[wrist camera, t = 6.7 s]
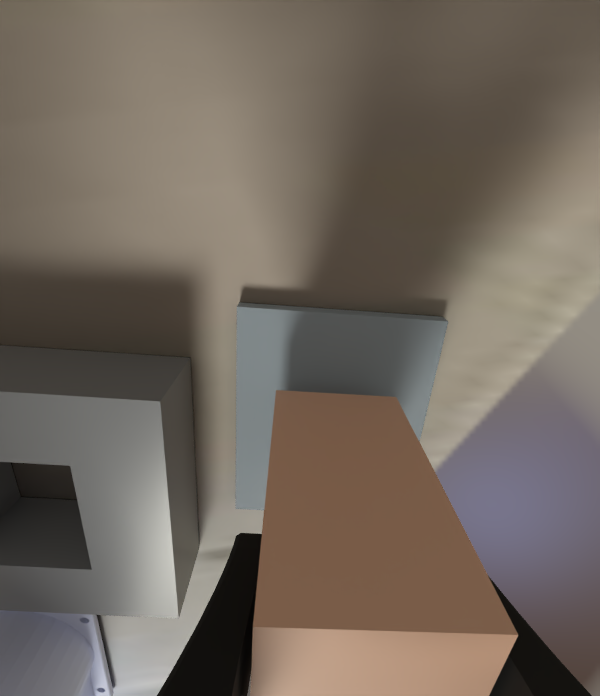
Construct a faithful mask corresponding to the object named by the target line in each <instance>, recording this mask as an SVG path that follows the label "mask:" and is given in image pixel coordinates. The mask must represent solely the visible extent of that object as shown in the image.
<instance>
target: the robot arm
mask: <svg viewBox="0 0 600 696" xmlns="http://www.w3.org/2000/svg"><path fill="white" fill-rule="evenodd" d="M261 539H262V534H251V533H240V534H239V535H237V536H236V539H235V542H234V545H233V548H232V551H231V553H230V556H229V559H228V561H227V564H226V566H225V568H224V571H223V573H222V575H221V577H220V580H219V582H218V584H217V586H216V589H215V591H214V593H213V595H212V597H211V599H210V601H209V603H208V605H207V607H206V609H205V611H204V613H203V615H202V617H201V619H200V621H199V623H198V625H197V627H196V628H195V630H194V632H193V634H192V636H191V637H190V639H189V641H188V643H187V645H186V646H185V648H184V650H183V652H182V654H181V655H180V657H179V659H178V661H177V663H176V664H175V666H174V668H173V670H172V671H171V673H170V675H169V677H168V678H167V680H166V682H165V683H164V685H163V687H162V688H161V690H160V692H159V693H158V695H157V696H247V693H248V687H249V681H250V675H251V665H252V638H253V621H254V610H255V600H256V590H257V580H258V569H259V559H260V549H261ZM488 577H489V576H488ZM489 579H490V578H489ZM490 581H491V583H492V585H493V587H494V589H495V590H496V592H497V594H498V596H499V598H500V600H501V602H502V604H503V606H504V608H505V610H506V612H507V614H508V616H509V618H510V620H511V622H512V624H513V626H514V628H515V629H516V631H517V633H518V637H517V639H516V641H515V643H514V645H513V647H512V649H511V651H510V653H509V655H508V658H507V660H506V662H505V664H504V666H503V668H502V670H501V672H500V674H499V676H498V678H497V680H496V682H495V684H494V686H493V689H492V691H491V693H490V695H489V696H591V695H590V693H589V692H588V691H587V690H586V689H585V688H584V687H583V686H582V685H581V684H580V682H579V681H577V679H576V678H575V677H574V676H573V675H572V674H571V673H570V671H569V670H568V669H567V668H566V667H565V666H564V665H563V664H562V663H561V662H560V660H559V659H558V658H557V657H556V656H555V655H554V654H553V652H552V651H551V650H550V649H549V648H548V647H547V646H546V644H545V643H544V642H543V641H542V640H541V639H540V637H539V636H538V635H537V634H536V633H535V632H534V630H533V629H532V628H531V627H530V626H529V625H528V623H527V622H526V621H525V620H524V619H523V618H522V616H521V615H520V614H519V613H518V611H517V610H516V609H515V608H514V607H513V606H512V604H511V603H510V602H509V601H508V599H507V598H506V597H505V596H504V595H503V593H502V592H501V591H500V590H499V589H498V587H497V586H496V585H495V584H494V582H493V581H492V580H491V579H490ZM113 693H114V692H113V688H112V683H111V678H110V674H109V669H108V665H107V660H106V656H105V651H104V646H103V642H102V637H101V633H100V628H99V623H98V619H97V615H92V614H70V613H48V612H27V611H5V610H0V696H113Z"/></svg>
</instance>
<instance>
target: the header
mask: <svg viewBox="0 0 600 696" xmlns="http://www.w3.org/2000/svg"><path fill="white" fill-rule="evenodd" d="M11 462H13V463H30V464H48V465H65V466H70V468H71V473H72V477H73V482H74V487H75V492H76V496H77V500H64V499H46V498H27V497H21V496H20V493H19V489H18V486H17V483H16V479H15V476H14V472H13V469H12V465H11ZM198 550H199V531H198V510H197V488H196V467H195V445H194V424H193V402H192V380H191V359H190V358H187V357H172V356H157V355H142V354H126V353H111V352H96V351H81V350H66V349H51V348H35V347H20V346H5V345H0V610H5V611H27V612H48V613H70V614H92V615H113V616H135V617H157V618H179V616H180V612H181V609H182V605H183V602H184V599H185V595H186V592H187V588H188V585H189V581H190V578H191V574H192V571H193V567H194V564H195V561H196V557H197V554H198Z"/></svg>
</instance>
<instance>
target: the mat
mask: <svg viewBox="0 0 600 696" xmlns="http://www.w3.org/2000/svg"><path fill="white" fill-rule="evenodd" d="M447 325H448V321H447V320H446V319H445V318H443V317H439V316H425V315H411V314H397V313H382V312H368V311H354V310H340V309H326V308H311V307H297V306H283V305H269V304H254V303H240V302H239V304H238V306H237V379H236V509H251V510H264V508H265V498H266V487H267V477H268V467H269V457H270V446H271V436H272V426H273V416H274V405H275V395H276V390H283V391H301V392H319V393H336V394H354V395H371V396H389V397H396V398H397V399H398V401H399V403H400V405H401V407H402V409H403V411H404V413H405V415H406V417H407V419H408V421H409V423H410V425H411V427H412V429H413V431H414V433H415V435H416V437H417V438H418V440H419V441H420V437H421V433H422V429H423V425H424V421H425V416H426V412H427V408H428V404H429V400H430V396H431V391H432V387H433V383H434V379H435V375H436V370H437V366H438V362H439V358H440V354H441V350H442V345H443V341H444V337H445V333H446V329H447Z"/></svg>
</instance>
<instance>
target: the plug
mask: <svg viewBox="0 0 600 696" xmlns="http://www.w3.org/2000/svg"><path fill="white" fill-rule="evenodd" d="M517 637H518V633H517V631H516V629H515V628H514V626H513V624H512V622H511V620H510V618H509V616H508V614H507V612H506V610H505V608H504V606H503V604H502V602H501V600H500V598H499V596H498V594H497V592H496V590H495V589H494V587H493V585H492V583H491V581H490V579H489V577H488V575H487V573H486V571H485V569H484V567H483V565H482V563H481V561H480V559H479V558H478V556H477V554H476V552H475V550H474V548H473V546H472V544H471V542H470V540H469V538H468V536H467V534H466V532H465V530H464V528H463V526H462V524H461V522H460V521H459V518H458V516H457V515H456V513H455V511H454V509H453V507H452V505H451V503H450V501H449V499H448V497H447V495H446V493H445V491H444V489H443V487H442V485H441V483H440V481H439V479H438V477H437V475H436V474H435V472H434V470H433V468H432V466H431V464H430V462H429V460H428V458H427V456H426V454H425V452H424V450H423V448H422V446H421V444H420V442H419V440H418V438H417V437H416V435H415V433H414V431H413V429H412V427H411V425H410V423H409V421H408V419H407V417H406V415H405V413H404V411H403V409H402V407H401V405H400V403H399V401H398V399H397V398H396V397H389V396H371V395H354V394H336V393H319V392H301V391H283V390H276V395H275V405H274V416H273V426H272V436H271V446H270V457H269V467H268V477H267V487H266V498H265V508H264V518H263V528H262V539H261V549H260V559H259V569H258V580H257V590H256V600H255V610H254V621H253V638H252V665H251V693H250V695H251V696H489V695H490V693H491V691H492V689H493V686H494V684H495V682H496V680H497V678H498V676H499V674H500V672H501V670H502V668H503V666H504V664H505V662H506V660H507V658H508V655H509V653H510V651H511V649H512V647H513V645H514V643H515V641H516V639H517Z"/></svg>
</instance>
